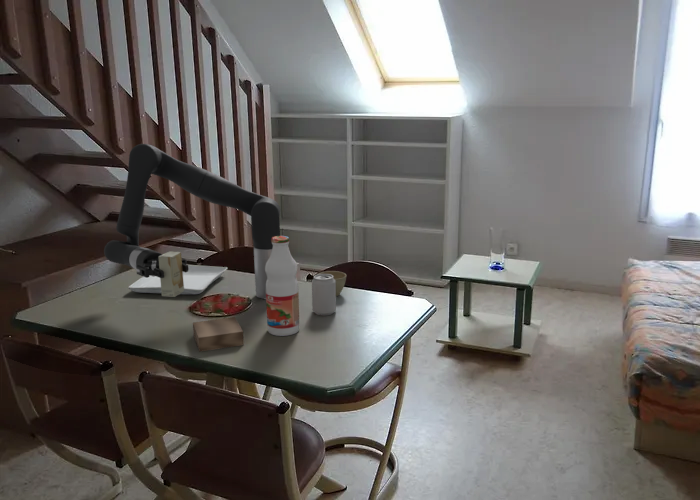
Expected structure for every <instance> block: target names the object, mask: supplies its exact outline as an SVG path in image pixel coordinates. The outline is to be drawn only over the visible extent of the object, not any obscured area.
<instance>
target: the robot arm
mask: <svg viewBox="0 0 700 500" xmlns="http://www.w3.org/2000/svg"><path fill="white" fill-rule="evenodd" d="M152 175H154V176H157V177H160V178H163V179H165V180H168V181H169V182H172V183H174V184H175V185H176V186H178V187H180V188H181V189H183V190H184V191H186V192H188V193H190V194H191V195H193V196H194V197H198V198H200V199H201V200H204V201H206V202H209V203H211V204H215V205H219V206H222V207H228V208H233V209H236V210H239V211H241V212H243V213H245V214H246V215H248V216H250V219H251V220H250V223H251V237H252V243H253V244H252V245H253V256H254V257H253V260H254V263H253V264H254V279H255V280H254V283H255V284H254V285H255V286H254V287H255V297H257V298H259V299H264V300H266V281H267V275H266V271H265V266H266V263H267V261H268V260H269V258H270V255H271V252H272V248H273V244H272V237H275V236H281V224H280V223H281V222H280V216H281V206H280V205H279V203H278V202H277V201H276V200H275V199H273V198H271V197H268V196H265V195H262V194H258V193H256V192H253V191H251V190H247V189H245V188H243V187H242V186H239V185H238V184H236V183H234V182H232V181H230V180H228V179H226V178H225V177H222V176H220V175H217V174H216V173H214V172H211V171H209V170H207V169H205V168H201V167H199V166H197V165H193V164H190V163H186V162H183V161H181V160H180V159H177V158H175V157H173V156H171V155H170V154H167V153H166V152H164V151H163V150H161V149H159V148H158V147H156V146H154V145H153V144H152V145H151V144H148V143H140V144H136V145H135V146H133V147H132V148H131V150H130V151H129V155H128V169H127V179H126V180H127V181H126V184H125V190H124V191H125V192H124V196H123V199H122V203H121V206H120V207H121V208H120V210H119V215H118V217H117V218H118V219H117V222H116V232H118V233H119V234H120V235H124V236H126V241H123V240H119V239H116V240H115V239H112V240H110V241H108V242H107V243H106V244H105V246H104V247H103V248H104V249H103V253H104V257H105V258H106V259H107V260H108V261H109V262H111V263H113V264H121V265H124V266H128V267H130V268H131V269H132V268H133V269H134V270H136V274H137V275H138V276H141V277H146V278H148V277H149V275H150V276H153V277H155V276H156V277H159V278H164V271H163V270H160V269H159V257H158V256H160V255H162V253H161V252H159V251H156V250H153V249H151V248H147V247H142V246H140V243H139V242H140V239H139V238H140V234H139V233H140V227H141V224H142V220H143V216H144V211H145V200H146V191H147V187H148V184H149V180H150V178H151V176H152ZM182 270H183V272H188V270H189V269H188V264H187V259H185V258H182Z"/></svg>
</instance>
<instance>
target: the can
mask: <svg viewBox="0 0 700 500" xmlns="http://www.w3.org/2000/svg"><path fill="white" fill-rule="evenodd" d="M317 274H318V275H317ZM317 274H315V275H313V279H312V280H311V306H312V310H311V311H312V312H313V313H315V314H316V315H318V316H330V315H333V314H334V313H335V312H336V310H337V300H336V299H337V297H336V281H335V279H334V278H333V275H331V274H319V273H317ZM332 313H333V314H332Z"/></svg>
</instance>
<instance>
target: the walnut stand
mask: <svg viewBox="0 0 700 500" xmlns="http://www.w3.org/2000/svg"><path fill="white" fill-rule="evenodd" d="M192 330H193V337H194V340H195V343H196V346H197V348H198V351H199V352H206V351H212V350H214V351H215V350H219V349H225V348H226V349H227V348H233V347H239V346H244V345H245V343H244V342H245V341H244V331H243V329H242V327H241V325H240V324H239V321H238V320H237V318H236V317H235V316H232V317H231V316H230V317H223V318H216V319H211V320H204V321H203V320H202V321H196V322H192Z"/></svg>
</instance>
